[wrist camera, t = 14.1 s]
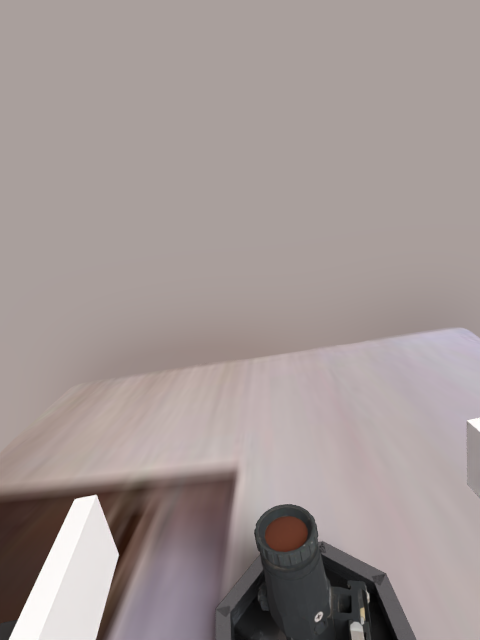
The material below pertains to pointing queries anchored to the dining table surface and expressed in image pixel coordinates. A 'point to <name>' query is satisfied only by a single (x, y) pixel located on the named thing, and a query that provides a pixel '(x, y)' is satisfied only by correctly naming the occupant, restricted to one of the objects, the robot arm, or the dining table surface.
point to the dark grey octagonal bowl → (384, 608)
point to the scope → (305, 581)
